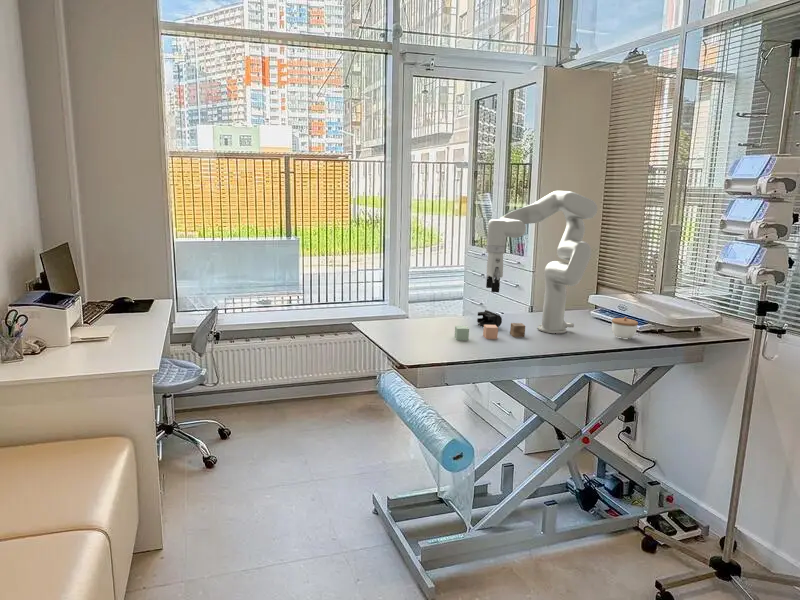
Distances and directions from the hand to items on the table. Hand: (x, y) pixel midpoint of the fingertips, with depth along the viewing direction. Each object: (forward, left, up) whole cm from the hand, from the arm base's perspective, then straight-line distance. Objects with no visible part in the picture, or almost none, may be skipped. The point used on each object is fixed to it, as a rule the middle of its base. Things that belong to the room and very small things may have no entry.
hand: (492, 289), depth 250 cm
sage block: (+13, +3, -21) cm, 24 cm away
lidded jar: (-61, -4, -21) cm, 65 cm away
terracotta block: (0, 0, -21) cm, 21 cm away
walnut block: (-13, -4, -21) cm, 25 cm away
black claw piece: (-4, -19, -21) cm, 28 cm away
